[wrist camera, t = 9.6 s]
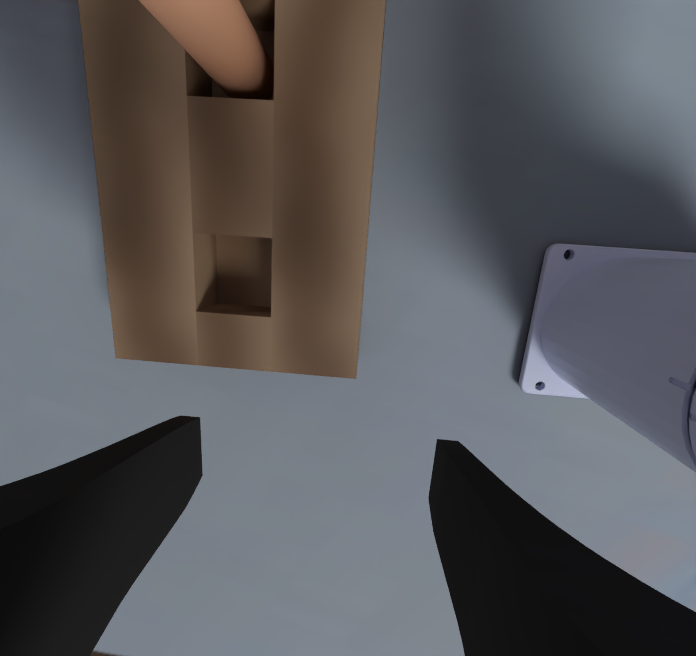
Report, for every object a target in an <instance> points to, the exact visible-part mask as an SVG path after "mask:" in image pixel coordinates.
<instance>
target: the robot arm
mask: <svg viewBox="0 0 696 656" xmlns="http://www.w3.org/2000/svg"><path fill="white" fill-rule="evenodd" d="M566 250H569V251H570V256H569V258H568V259H565V258H564V253H565V251H566ZM538 382H541V383H542V384H541V385H540V386H539V387H536V388H535V385H536V383H538ZM519 387H520V388H521V389H522V390H523V391H524V392H526V393H531V394H543V395H554V396H566V397H578V398H589V399H591V400H592V401H594V402H595V403H597V404H598V405H599V406H601V407H602V408H604V409H605V410H607V411H608V412H609V413H611V414H612V415H614V416H615V417H617V418H618V419H620V420H621V421H622V422H624V423H625V424H627V425H628V426H630V427H631V428H633V429H634V430H635V431H637V432H638V433H640V434H641V435H643V436H644V437H646V438H647V439H648V440H650V441H651V442H653V443H654V444H656V445H657V446H659V447H660V448H661V449H663V450H664V451H666V452H667V453H669V454H670V455H671V456H673V457H674V458H676V459H677V460H679V461H680V462H682V463H683V464H684V465H686V466H687V467H689V468H690V469H692V470H693V471H695V472H696V253H691V252H676V251H662V250H647V249H632V248H617V247H603V246H588V245H573V244H553V245H551V246H549V247H548V248H547V250H546V252H545V256H544V261H543V265H542V270H541V275H540V280H539V285H538V290H537V295H536V300H535V305H534V309H533V314H532V319H531V324H530V329H529V334H528V339H527V344H526V349H525V353H524V358H523V363H522V368H521V373H520V378H519ZM201 477H202V454H201V430H200V417H190V416H178V417H175V418H172V419H169V420H167V421H164V422H162V423H160V424H157V425H155V426H153V427H150V428H148V429H146V430H144V431H141V432H139V433H137V434H135V435H132V436H130V437H128V438H125V439H123V440H121V441H119V442H116V443H114V444H112V445H110V446H107V447H105V448H102V449H100V450H97V451H95V452H93V453H90V454H88V455H85V456H83V457H80V458H78V459H75V460H73V461H71V462H68V463H66V464H63V465H60V466H58V467H55V468H52V469H50V470H47V471H44V472H41V473H39V474H36V475H33V476H30V477H27V478H24V479H21V480H18V481H15V482H12V483H9V484H6V485H3V486H0V656H90V655H91V653H92V651H93V649H94V648H95V646H96V644H97V642H98V641H99V639H100V637H101V636H102V634H103V632H104V630H105V629H106V627H107V625H108V623H109V622H110V620H111V618H112V617H113V615H114V613H115V611H116V610H117V608H118V606H119V605H120V603H121V601H122V600H123V598H124V597H125V595H126V594H127V592H128V591H129V589H130V588H131V586H132V584H133V583H134V582H135V580H136V579H137V577H138V576H139V574H140V573H141V572H142V570H143V569H144V567H145V566H146V564H147V563H148V562H149V560H150V559H151V557H152V556H153V554H154V553H155V551H156V550H157V549H158V547H159V546H160V544H161V543H162V541H163V540H164V539H165V537H166V536H167V534H168V533H169V531H170V530H171V528H172V527H173V526H174V524H175V523H176V521H177V520H178V518H179V517H180V515H181V514H182V512H183V511H184V509H185V508H186V506H187V504H188V502H189V501H190V499H191V497H192V495H193V493H194V491H195V489H196V487H197V485H198V483H199V481H200V479H201ZM429 505H430V512H431V519H432V525H433V532H434V536H435V540H436V544H437V548H438V551H439V555H440V559H441V563H442V566H443V570H444V574H445V577H446V581H447V585H448V588H449V592H450V596H451V599H452V603H453V607H454V611H455V614H456V618H457V622H458V626H459V630H460V634H461V639H462V643H463V648H464V654H465V656H696V612H694V611H693V610H691V609H689V608H687V607H685V606H683V605H682V604H680V603H678V602H676V601H674V600H672V599H671V598H669V597H667V596H665V595H664V594H662V593H660V592H659V591H657V590H655V589H653V588H652V587H650V586H648V585H646V584H645V583H643V582H641V581H640V580H638V579H636V578H635V577H633V576H632V575H630V574H628V573H627V572H625V571H624V570H622V569H620V568H619V567H617V566H616V565H614V564H612V563H611V562H609V561H608V560H606V559H604V558H603V557H601V556H600V555H598V554H597V553H595V552H594V551H592V550H591V549H589V548H588V547H586V546H585V545H583V544H582V543H580V542H579V541H578V540H576V539H575V538H573V537H572V536H571V535H569V534H568V533H566V532H565V531H563V530H562V529H561V528H559V527H558V526H556V525H555V524H554V523H552V522H551V521H550V520H548V519H547V518H546V517H545V516H543V515H542V514H541V513H539V512H538V511H537V510H536V509H535V508H533V507H532V506H531V505H530V504H528V503H527V502H526V501H525V500H523V499H522V498H521V497H520V496H519V495H517V494H516V493H515V492H514V491H513V490H512V489H510V488H509V487H508V486H507V485H506V484H505V483H504V482H502V481H501V480H500V479H499V478H498V477H497V476H496V475H495V474H494V473H492V472H491V471H490V470H489V469H488V468H487V467H486V466H485V465H484V464H483V463H482V462H481V461H480V460H478V459H477V458H476V457H475V456H474V455H473V454H472V453H471V452H470V451H469V450H468V449H467V448H466V447H464V446H463V445H462V444H461V443H460V442H458V441H451V440H440V439H437V444H436V451H435V457H434V464H433V471H432V478H431V485H430V491H429Z"/></svg>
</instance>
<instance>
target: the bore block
mask: <svg viewBox="0 0 696 656" xmlns="http://www.w3.org/2000/svg"><path fill="white" fill-rule="evenodd" d="M239 1H240V3H241V5H242V7H243V8H244V10H245V12H246V14H247V16H248V18H249V20H250V22H251V24H252V25H253V27H254V29H255V31H256V33H257V35H258V37H259V39H260V41H261V43H262V44H263V46H264V48H265V50H266V52H267V54H268V56H269V58H270V60H271V62H272V63H273V66H274V92H273V94H272V96H271V97H270V99H269V100H257V99H238V98H230V97H229V96H228V95H227V94H226V93H225V92H224V91H223V90H222V89H221V88H220V86H219V85H218V84H217V83H216V82H215V81H214V80H213V79H212V78H211V77H210V76H209V75H208V74H207V73H206V72H205V70H204V69H203V68H202V67H201V66H200V65H199V64H198V63H197V62H196V61H195V60H194V59H193V58H192V57H191V56H190V54H189V53H188V52H187V51H186V50H185V49H184V48H183V47H182V46H181V45H180V44H179V43H178V42H177V41H176V40H175V38H174V37H173V36H172V35H171V34H170V33H169V32H168V31H167V30H166V29H165V28H164V27H163V26H162V25H161V24H160V22H159V21H158V20H157V19H156V18H155V17H154V16H153V15H152V14H151V13H150V12H149V11H148V10H147V9H146V8H145V6H144V5H143V4H142V3H141V2H140V1H139V0H78V4H79V14H80V23H81V33H82V42H83V52H84V62H85V71H86V81H87V90H88V100H89V109H90V119H91V128H92V138H93V147H94V157H95V166H96V176H97V185H98V195H99V204H100V214H101V223H102V233H103V242H104V252H105V261H106V271H107V280H108V290H109V299H110V309H111V318H112V328H113V337H114V347H115V356H116V358H120V359H131V360H143V361H155V362H166V363H178V364H190V365H201V366H213V367H225V368H236V369H248V370H260V371H271V372H283V373H295V374H307V375H318V376H330V377H342V378H353V379H356V374H357V363H358V351H359V338H360V325H361V313H362V300H363V287H364V275H365V262H366V249H367V237H368V224H369V211H370V198H371V186H372V173H373V160H374V148H375V135H376V122H377V110H378V97H379V84H380V71H381V59H382V46H383V33H384V21H385V8H386V0H239Z"/></svg>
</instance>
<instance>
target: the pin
mask: <svg viewBox="0 0 696 656" xmlns="http://www.w3.org/2000/svg"><path fill="white" fill-rule="evenodd" d="M139 1H140V2H141V3H142V4H143V5H144V6H145V8H146V9H147V10H148V11H149V12H150V13H151V14H152V15H153V16H154V17H155V18H156V19H157V20H158V21H159V22H160V24H161V25H162V26H163V27H164V28H165V29H166V30H167V31H168V32H169V33H170V34H171V35H172V36H173V37H174V38H175V40H176V41H177V42H178V43H179V44H180V45H181V46H182V47H183V48H184V49H185V50H186V51H187V52H188V53H189V54H190V56H191V57H192V58H193V59H194V60H195V61H196V62H197V63H198V64H199V65H200V66H201V67H202V68H203V69H204V70H205V72H206V73H207V74H208V75H209V76H210V77H211V78H212V79H213V80H214V81H215V82H216V83H217V84H218V85H219V86H220V88H221V89H222V90H223V91H224V92H225V93H226V94H227V95H228V96H229V97H230V98H238V99H257V100H269V99H270V97H271V96H272V94H273V92H274V66H273V63H272V62H271V60H270V58H269V56H268V54H267V52H266V50H265V48H264V46H263V44H262V43H261V41H260V39H259V37H258V35H257V33H256V31H255V29H254V27H253V25H252V24H251V22H250V20H249V18H248V16H247V14H246V12H245V10H244V8H243V7H242V5H241V3H240V1H239V0H139Z"/></svg>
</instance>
